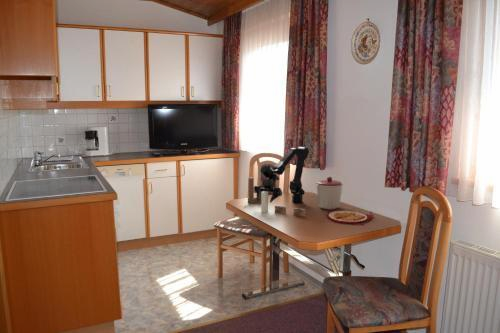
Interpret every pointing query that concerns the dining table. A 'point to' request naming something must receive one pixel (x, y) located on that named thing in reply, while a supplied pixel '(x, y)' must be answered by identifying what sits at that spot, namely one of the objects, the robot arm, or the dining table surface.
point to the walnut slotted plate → (296, 211)
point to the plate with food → (348, 217)
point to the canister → (329, 193)
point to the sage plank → (264, 201)
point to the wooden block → (253, 191)
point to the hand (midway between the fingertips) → (263, 201)
